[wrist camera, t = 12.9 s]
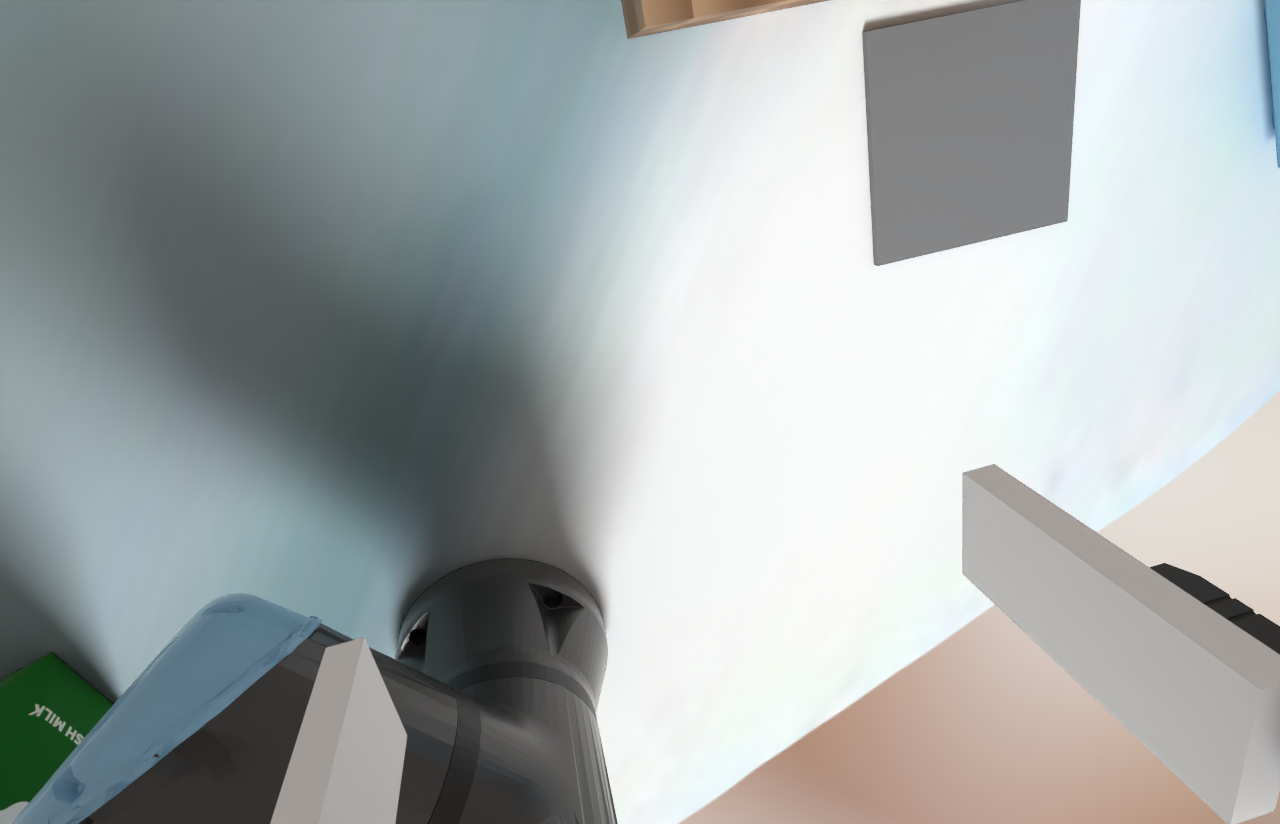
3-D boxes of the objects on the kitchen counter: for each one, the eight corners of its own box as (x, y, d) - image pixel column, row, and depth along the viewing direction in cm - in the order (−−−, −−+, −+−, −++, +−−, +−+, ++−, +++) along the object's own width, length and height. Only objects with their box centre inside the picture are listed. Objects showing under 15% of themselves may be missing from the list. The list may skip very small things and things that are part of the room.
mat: (874, 264, 47) (877, 265, 47) (862, 32, 42) (866, 31, 41) (1061, 220, 49) (1067, 221, 49) (1075, -10, 43) (1081, -12, 43)
